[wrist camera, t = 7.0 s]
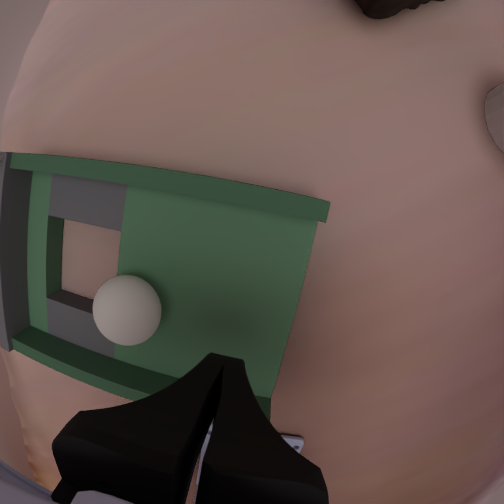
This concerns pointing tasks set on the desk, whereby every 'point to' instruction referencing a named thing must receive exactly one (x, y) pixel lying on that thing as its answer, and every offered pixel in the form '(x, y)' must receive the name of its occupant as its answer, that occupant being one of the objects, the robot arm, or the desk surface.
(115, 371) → the putting green
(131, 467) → the robot arm
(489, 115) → the grey cup
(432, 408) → the desk surface
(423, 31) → the desk surface
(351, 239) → the desk surface
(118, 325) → the golf ball
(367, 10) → the owl
